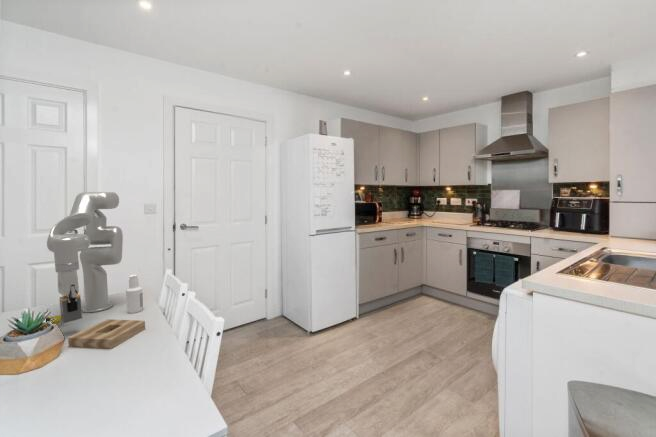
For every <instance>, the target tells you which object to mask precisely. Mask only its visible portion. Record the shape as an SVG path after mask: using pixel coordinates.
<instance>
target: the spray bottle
mask: <svg viewBox="0 0 656 437" xmlns="http://www.w3.org/2000/svg"><path fill="white" fill-rule="evenodd" d="M128 278H129V280H128V288H127V289H126V290H125V295H126V296H125V297H126V312H127V313H129V314H135V313H139V312H140V313H141V312H142V311H143V310H144V301H143V300H144V299H143V298H144V297H143V288H142V287H141V286H139V278H138V274H130V275H129V277H128Z"/></svg>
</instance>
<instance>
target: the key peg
mask: <svg viewBox="0 0 656 437" xmlns="http://www.w3.org/2000/svg"><path fill="white" fill-rule="evenodd" d="M76 296H77V297H76V298H77V307H78V310H76V311H72V312H68V310H67V303H68V300H67V296H65V297H64V296H59V309H60V315H61V321H62V322H63V323H67V322H68V323H70V322H73V321H78V320H80V319H81V320H82V319H83V314H82V301H81V300H82V299H81V294H79V293H78V294H76ZM70 297H71V296H70ZM68 323H67V324H68Z"/></svg>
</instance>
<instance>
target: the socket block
mask: <svg viewBox="0 0 656 437" xmlns="http://www.w3.org/2000/svg"><path fill="white" fill-rule="evenodd" d="M144 330H146V321H145V320H132V319H111V318H107V319H105V320H103V321H100V322H98V323H97V324H93V325H92V326H90V327H87V328H85V329H83V330H80V331H79V332H77V333H75V334H73V335H70V336H68V337H67V341H68V344H67V346H68V348H70V347H71V348H86V349H87V348H89V349H108V350H112V349H114V348H115V347H117V346H118V345H121V344H122V343H124V342H125V341H127V340H129V339H131V338H132V337H134V336H135V335H137V334H139V333H140V332H143V331H144Z"/></svg>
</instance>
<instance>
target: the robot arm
mask: <svg viewBox="0 0 656 437" xmlns="http://www.w3.org/2000/svg"><path fill="white" fill-rule="evenodd" d="M119 204H120V197H119V195H118V194H117V193H116V192H114V191H113V192H111V191H109V192H107V191H86V192H84V191H83V192H81V193H78V194H77V195H76V196H75V199H74V201H73V206H72V208H71V210H70V213H69V215H67V216H65V217H64V218H62V219H61V220H59V221H58V222H57V223H55V224H54V225H53V226H52V228H51V229H50V231H49V233H48V237H47V241H46V248H47V250H48V251H49V252H52V253H53V256H54V257H53V258H54V269H55V270H54V271H55V273H57V292H58V293H59V294H60V295H61V297H63V296H64V297H65V296H67V300H68V303H67V310H68V312H72V311H76V310H78V307H77V298H76V297H77V296H76V294H79V292H80V289H79V288H80V286H79V278H78V270H80V264H81V269H82V274H83V288H84V290H83V291H84V302H85V303H84V304H85V305H84V306H83V307H81V310H82V312H83V313H97V312H102V311H105V310H108V309H110V308H112V307H113V303H112V302H111V301H110V302H109V291H108V290H109V289H108V275H107V271H106V270H105V268H103V267H102V266H113V265H119V264H120V263H121V262H122V259H123V244H124V243H123V241H124V237H123V235H124V233H123V231H122V228H121V227H119V226H116V225H107V220H108V219H107V216H106V215H105V214H104V212H102V211H101V210H112V209H113V210H114V209H116V208H118V206H119ZM82 227H85V234H83V233H71V234H70V233H69V234H68V232H71V231H74V230H76V229H79V228H82ZM101 245H102V246H101ZM105 245H110V246H105ZM90 246H94V247H90ZM79 252H80V253H79ZM70 296H71V297H70Z"/></svg>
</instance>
